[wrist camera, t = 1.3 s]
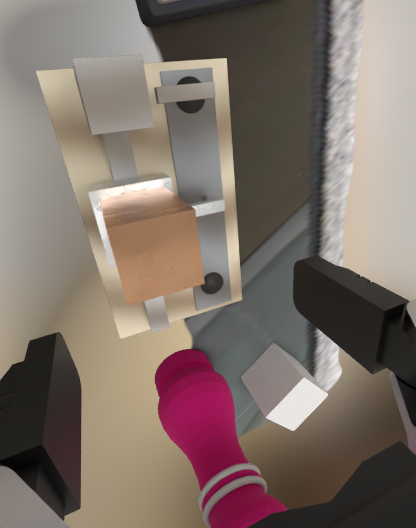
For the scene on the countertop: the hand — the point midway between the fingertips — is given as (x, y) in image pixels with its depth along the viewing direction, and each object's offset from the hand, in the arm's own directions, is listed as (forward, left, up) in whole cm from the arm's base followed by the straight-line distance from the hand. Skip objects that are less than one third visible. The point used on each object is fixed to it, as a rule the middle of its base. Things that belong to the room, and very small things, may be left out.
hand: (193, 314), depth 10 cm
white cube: (+24, +13, -16) cm, 31 cm away
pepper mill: (+19, +2, -16) cm, 25 cm away
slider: (0, +2, -13) cm, 13 cm away
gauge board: (+1, +3, -16) cm, 16 cm away
